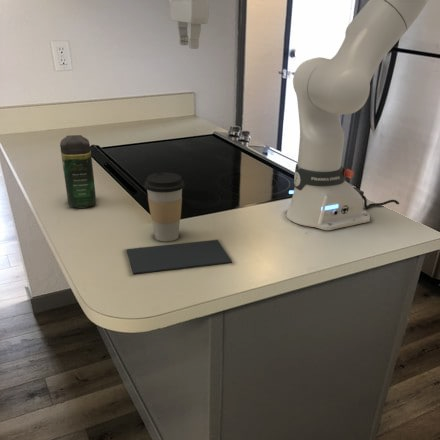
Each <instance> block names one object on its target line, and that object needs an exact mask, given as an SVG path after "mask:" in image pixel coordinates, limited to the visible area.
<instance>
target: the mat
mask: <svg viewBox="0 0 440 440" xmlns="http://www.w3.org/2000/svg"><path fill="white" fill-rule="evenodd" d="M126 253H127V256H128V257H127V258H128V260H129V264H130V268H131V271H132V274H133V275H140V274H148V273H156V272H157V273H158V272H165V271H174V270H183V269H192V268H199V267H200V268H201V267H207V266H217V265H225V264H232V263H233V261H232V259H231V257H230V256H229V255H228V253H227V252H226V250H225V249H224V248H223V245H222V244H221V243H220V241H219V239H212V240H201V241H192V242H181V243H173V244H172V243H171V244H164V245H153V246H145V247H144V246H143V247H134V248H127V249H126Z"/></svg>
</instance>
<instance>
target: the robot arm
mask: <svg viewBox="0 0 440 440" xmlns="http://www.w3.org/2000/svg"><path fill="white" fill-rule="evenodd" d="M168 2H169V13H170V19H171V20H172V21H175V22H176V26H177V33H178V43H179V45H181V46H188V47H189V48H190V49H192V50H197V49H199V46H200V36H201V31H202V25H207V24H208V22H209V0H168ZM428 2H429V0H368V1H367V2H366V3H365V5H364V6H363V7H362V8H361V9H360V10H359V12H358V13H357V14H356V15H355V17H353V19H352V20H351V21H350V23H349V24H348V25H347V27H346V29H345V32H344V33H345V36H344V38H343V41H342V43H341V45H340V47H339V49H338V50H337V52H336V53H335V55H334V56H333V57H331V58H328V57H327V58H325V57H319V56H318V57H313V58H310V59H307V60H305V61H303V62H301V63H300V64H299V65H298V67H297V68H296V69H295V71H294V73H293V78H292V84H293V89H294V92H295V95H296V100H297V111H298V120H299V121H298V122H299V142H298V143H299V144H298V155H297V163H296V165H295V168H294V178H293V186H294V187H293V188H294V189H293V190H289V191H288V194H289V195H292V197H291V201H290V204H289V207H288V210H287V212H286V218H287V219H288V220H289V221H291V222H293V223H295V224H297V225H301V226H304V227H311V228H317V229H320V230H323V231H333V230H336V229H342V228H347V227H351V226H355V225H360V224H366V223H369V222H370V221H371V215H370V214H369V213H368V212H367V210H368V209H369V208H370V207H379V206H384V205H387V204H389V203H394V204H395V205H399V204H400V202H399V201H398V200H396V199H388V200H386V201H383V202H375V203H374V202H372V203H369V204H368V199H367V197H366V195H364V193H365V192H364V191H363V190H361V189H359V188H357V187H355V186H352V185H351V184H350V183H349V182H347V180H346V178H347V179H352V178H353V177H354V175H355V172H354V170H352V169H350V168H347V169H346V167H344V166H342V160H343V154H344V146H345V142H346V141H345V139H346V137H345V136H346V135H345V131H344V130H343V126H342V122H341V116H343V115H351V114H355V113H357V112H358V111H360V110H361V109H362V108H363V107H364V105H365V104H366V103H367V101H368V99H369V97H370V91H371V81H372V79H373V77H374V75H375V74H376V71H377V69H378V68H379V66H380V64H381V63H382V61H383V60H384V58H386V56H387V54H388V53H389V52H390V51H391V50H392V49H393V48H394V46H395V45H396V44H397V43H398V41H399V40H400V39H401V38H402V37H403V35H405V33H406V32H407V31H408V30H409V29H410V28H411V26H412V25H414V23H415V21H416V20H417V19H418V17H419V16H420V14H421V13H422V11H423V10H424V9H425V6H426V5H427V3H428ZM188 29H189V36H188ZM345 177H346V178H345ZM364 208H365V209H367V210H365V209H364Z"/></svg>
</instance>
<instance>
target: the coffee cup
mask: <svg viewBox="0 0 440 440" xmlns="http://www.w3.org/2000/svg"><path fill="white" fill-rule="evenodd" d="M143 187H144V189H145V190H146V192H147V202H148V207H149V214H150V220H151V222H152V227H153V233H154V238H155V239H156V240H157V241H160V242H172V241H176V240H178V238H179V236H180V235H179V234H180V222H181V219H182V218H181V217H182V206H183V196H182V195H183V189H184V188H185V181H184V180H183V179H182V176H181V175H180V174H178V173H174V172H156V173H155V172H154V173H152V174H149V175H148V176H147V177H146V180H145V181H144V185H143Z"/></svg>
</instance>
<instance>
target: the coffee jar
mask: <svg viewBox="0 0 440 440" xmlns="http://www.w3.org/2000/svg"><path fill="white" fill-rule="evenodd" d="M59 147H60V154H61V155H60V156H61V163H62V169H63V175H64V176H63V177H64V182H65V183H64V184H65V189H66V191H65V192H66V197H67V204H68V205H69V206H70V208H78V209H86V208H88V207H92V206H95V205H96V202H97V196H96V195H97V194H96V187H95V186H96V185H95V176H94V168H93V167H94V166H93V159H92V158H93V157H92V151H91V145H90V141H89V139H88V138H87V137H84V136H83V135H81V134H74V135H73V134H71V135H70V134H69V135H65V137H64V138H62V139H61V140H60V142H59Z"/></svg>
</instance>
